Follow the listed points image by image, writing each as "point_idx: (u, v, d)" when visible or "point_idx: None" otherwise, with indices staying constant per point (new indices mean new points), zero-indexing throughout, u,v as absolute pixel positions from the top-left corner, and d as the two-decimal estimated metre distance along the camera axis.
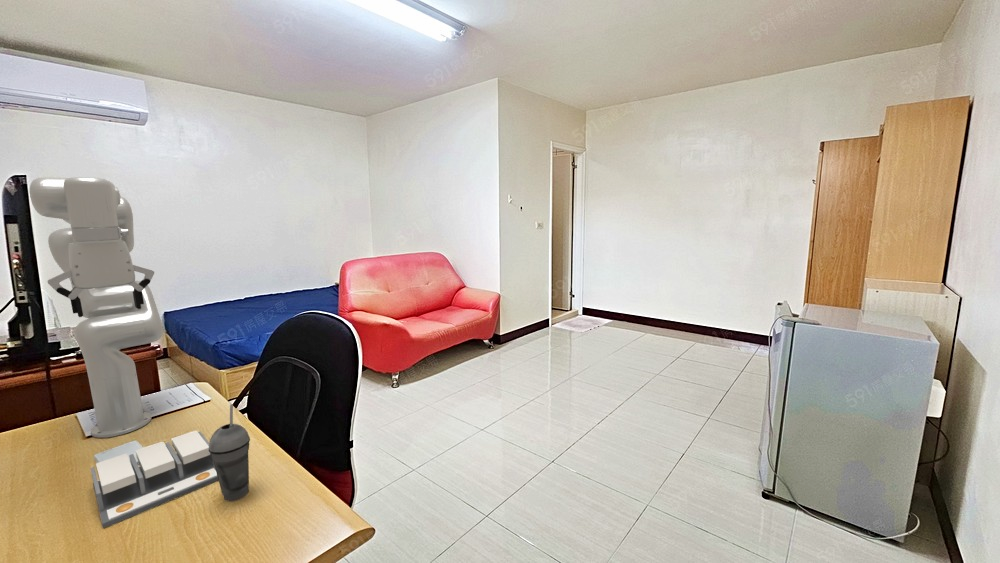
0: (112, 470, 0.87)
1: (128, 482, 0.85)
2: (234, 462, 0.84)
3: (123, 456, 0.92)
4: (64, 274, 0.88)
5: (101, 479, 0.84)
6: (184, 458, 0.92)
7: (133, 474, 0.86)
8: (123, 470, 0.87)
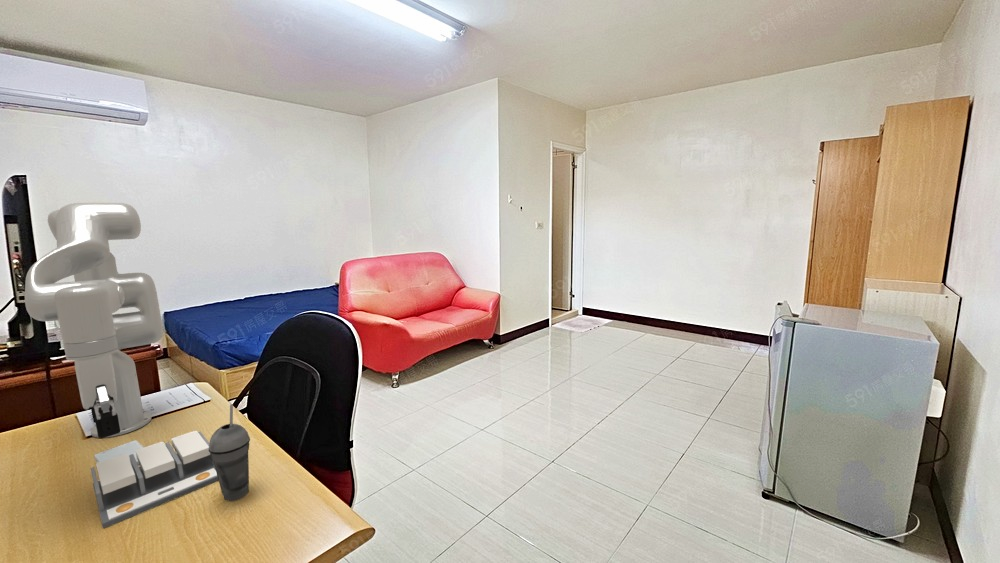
0: (112, 470, 0.87)
1: (128, 482, 0.85)
2: (234, 462, 0.84)
3: (123, 456, 0.92)
4: (106, 391, 0.81)
5: (101, 479, 0.84)
6: (184, 458, 0.92)
7: (133, 474, 0.86)
8: (123, 470, 0.87)
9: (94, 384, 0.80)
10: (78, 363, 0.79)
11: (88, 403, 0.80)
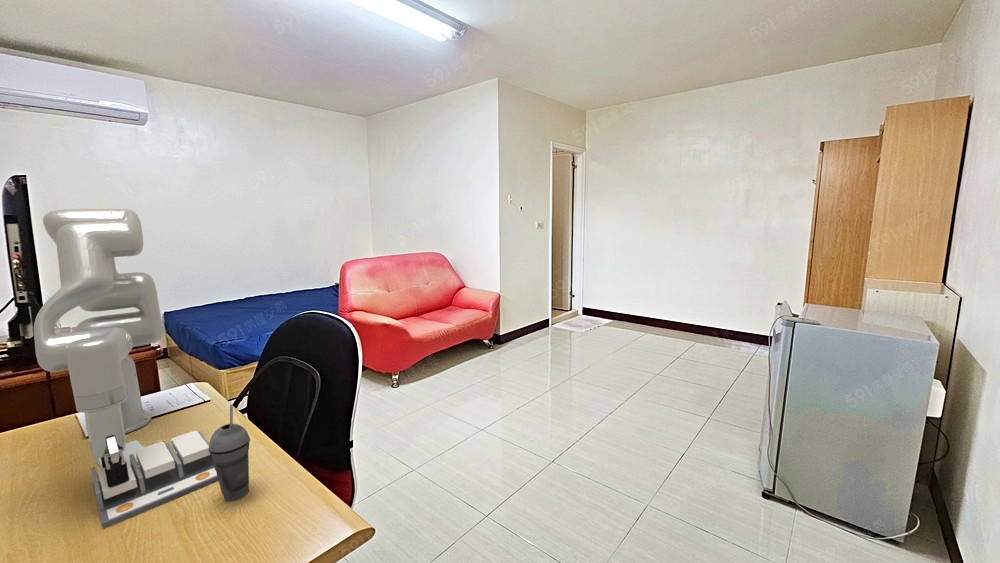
0: None
1: (129, 487, 0.85)
2: (234, 462, 0.84)
3: None
4: (115, 441, 0.83)
5: (102, 484, 0.84)
6: (184, 458, 0.92)
7: (134, 479, 0.86)
8: None
9: (104, 435, 0.82)
10: (88, 415, 0.81)
11: (98, 454, 0.82)
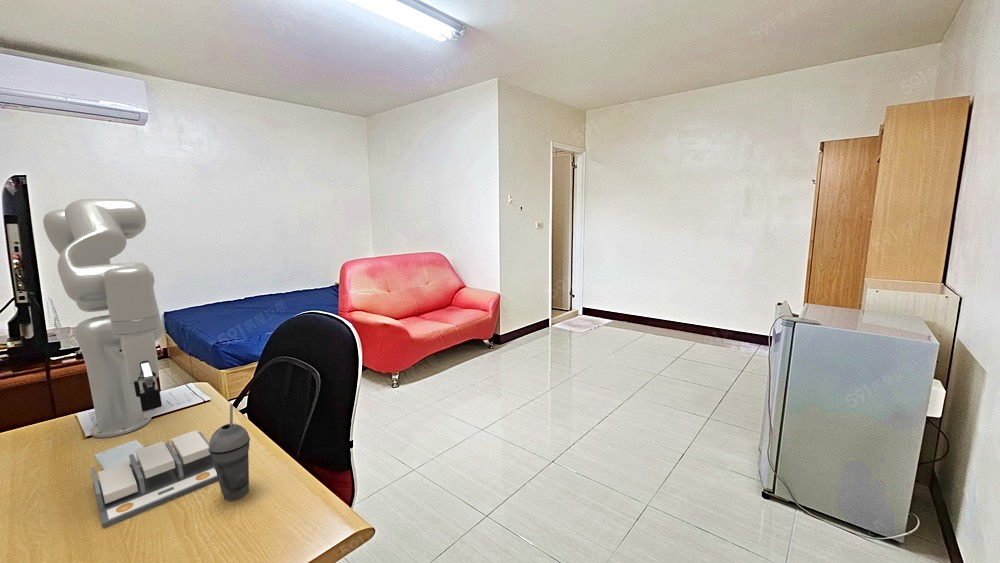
0: (113, 479, 0.87)
1: (130, 491, 0.85)
2: (234, 462, 0.84)
3: (125, 465, 0.92)
4: (149, 367, 0.85)
5: (103, 488, 0.85)
6: (184, 458, 0.92)
7: (135, 483, 0.86)
8: (124, 479, 0.87)
9: (139, 360, 0.85)
10: (124, 340, 0.84)
11: (133, 378, 0.84)
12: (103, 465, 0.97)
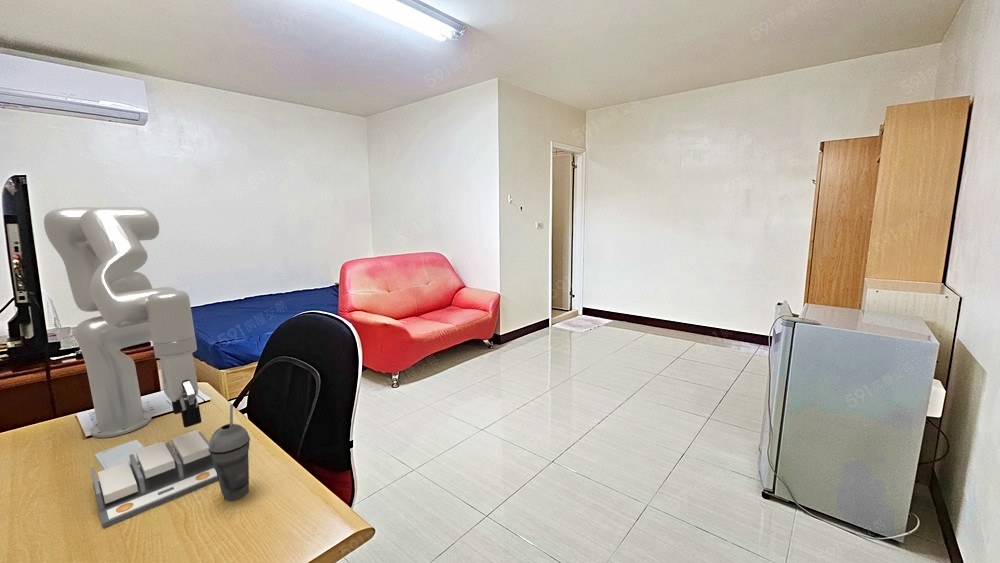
0: (113, 479, 0.87)
1: (130, 491, 0.85)
2: (234, 462, 0.84)
3: (125, 465, 0.92)
4: (190, 385, 0.91)
5: (103, 488, 0.85)
6: (184, 458, 0.92)
7: (135, 483, 0.86)
8: (124, 479, 0.87)
9: (180, 379, 0.90)
10: (167, 361, 0.89)
11: (176, 396, 0.90)
12: (103, 465, 0.97)
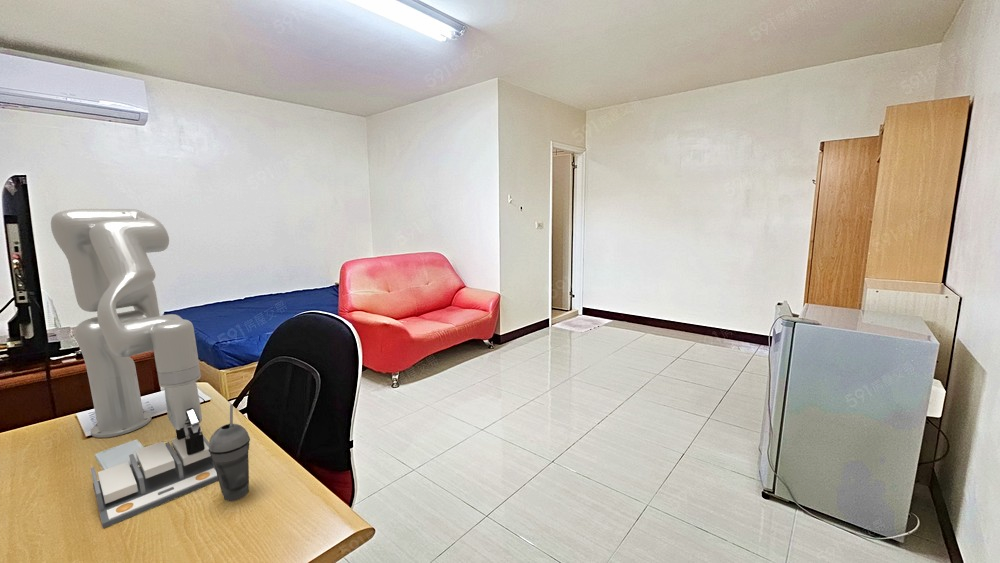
0: (113, 479, 0.87)
1: (130, 491, 0.85)
2: (234, 462, 0.84)
3: (125, 465, 0.92)
4: (194, 414, 0.92)
5: (103, 488, 0.85)
6: (184, 459, 0.92)
7: (135, 483, 0.86)
8: (124, 479, 0.87)
9: (184, 408, 0.91)
10: (171, 390, 0.90)
11: (180, 425, 0.91)
12: (103, 465, 0.97)
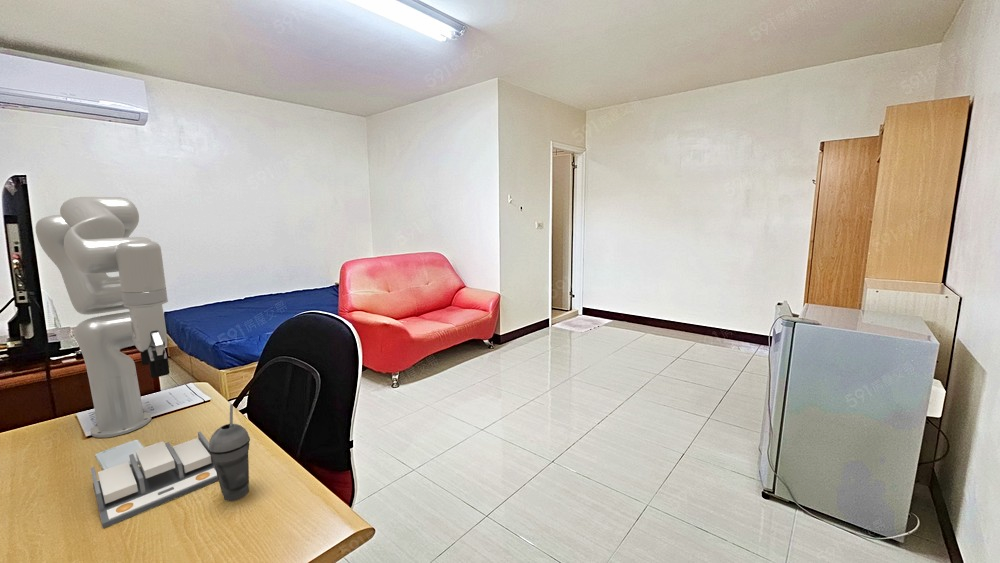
0: (113, 479, 0.87)
1: (130, 491, 0.85)
2: (234, 462, 0.84)
3: (125, 465, 0.92)
4: (159, 336, 0.91)
5: (103, 488, 0.85)
6: (185, 467, 0.92)
7: (135, 483, 0.86)
8: (124, 479, 0.87)
9: (149, 330, 0.90)
10: (136, 310, 0.89)
11: (144, 346, 0.90)
12: (103, 465, 0.97)
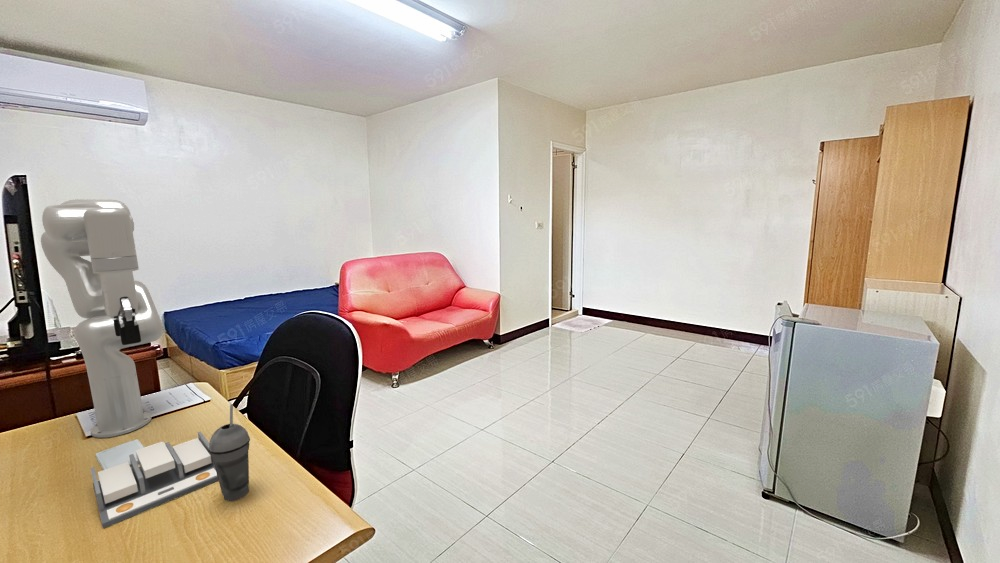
0: (113, 479, 0.87)
1: (130, 491, 0.85)
2: (234, 462, 0.84)
3: (125, 465, 0.92)
4: (129, 302, 0.90)
5: (103, 488, 0.85)
6: (185, 467, 0.92)
7: (135, 483, 0.86)
8: (124, 479, 0.87)
9: (118, 295, 0.90)
10: (104, 276, 0.89)
11: (113, 312, 0.89)
12: (103, 464, 0.97)
